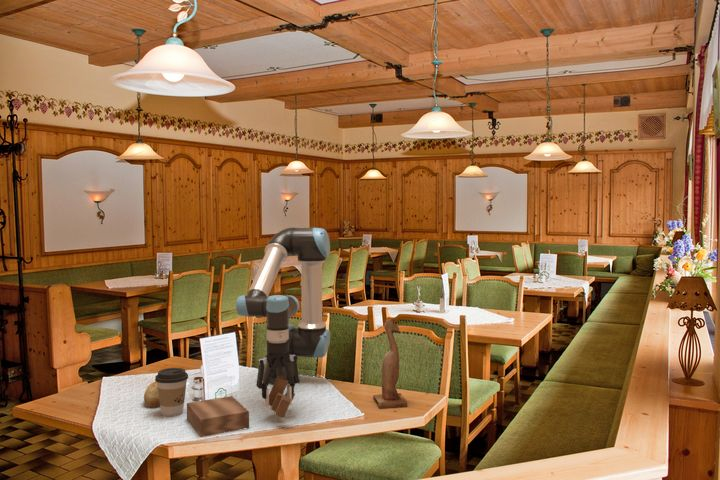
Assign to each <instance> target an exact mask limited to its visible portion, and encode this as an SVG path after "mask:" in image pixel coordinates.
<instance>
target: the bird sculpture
mask: <svg viewBox="0 0 720 480" xmlns="http://www.w3.org/2000/svg"><path fill="white" fill-rule="evenodd" d="M383 327H384V330H385V333H386V335H387V339H388V344H389V351H387V352H386V353H385V355H384V357H383V359H382V364H381V366H382V367H381V394H373V395H372V400H376V401H377V405H378V409H380V408H381V409H387V408H388V409H390V408H393V409H395V408H404V407H405V408H407V406H408V400H407V399H406V398H405V397H404V396H403V394H402V393H401V392H399V393H398V390H397V388H396V384H397V383H398V381H399V377H400V353H399V349H398V348H399V347H398V345H397V342H396V340H395V336H394V333H400V327H399V326H398V325H397V324H396V323H394V322H393V320H392V319H391V318H389V319H387V320H386V321H385V322H384V325H383Z"/></svg>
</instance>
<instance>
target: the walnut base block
mask: <svg viewBox="0 0 720 480" xmlns="http://www.w3.org/2000/svg"><path fill="white" fill-rule="evenodd" d="M186 420H187V421H188V423H189V424H190V425H191V426H192V428H193V429H194V430H195V432H197V434H198V435H199V436H200V438H202V437H203V438H204V437H207V436H213V435H218V434H223V433H224V432H225V433H229V431H230V432H235V431H239V430H240V429H241V430H245V429H244V428H246V429H250V411H249V410H248V409H247V408H246V407H245V406H244V405H243V404H241V402H239V400H237V398H235V397H234V396H232V395H231V396H224V397H217V398H212V399H211V398H210V399H204V400H197V401H191V402H186ZM241 430H240V431H241Z"/></svg>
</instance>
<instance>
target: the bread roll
mask: <svg viewBox="0 0 720 480" xmlns="http://www.w3.org/2000/svg"><path fill="white" fill-rule="evenodd" d="M143 399H144V404H145V405H146V406H147V407H149V408H157V407H160V401H159V394H158V387H157V382H156V381H155V380H154V381H153V382H151V383H150V384H149V385H148V386H147V387H146V389H145V391H144V395H143Z"/></svg>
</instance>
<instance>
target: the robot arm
mask: <svg viewBox="0 0 720 480" xmlns="http://www.w3.org/2000/svg"><path fill="white" fill-rule="evenodd" d="M330 241H331V240H330V237H329V233H328V232H327V230H326V229H325V228H323V227H322V228H321V227H287V228H283V229H282V230H280V231H279V232H277V233H276V234H274V235H273V236H272V237H271V238H270V239H269V241H268V242H267V244H266V245H265V248H264V256H263V258H262V260H261V263H260V265H259V267H258V270H257V272H256V274H255V276H254V278H253V280H252V283H251V284H250V287H249V290H248V292H247V294H244V295H239V296H238V297H237V299H236V302H235V311H236V313H237V315H238V316H240V317H246V318H247V317H248V318H251V317H253V318H266V339H265V340H266V355H265V357H264V358H258V359H257V363H258V370H257V371H258V372H257V377H256V378H257V379H256V384H255V385H256V388H258V389H259V390H261V398H262V399H263V400H264V407H265V408H266V409H270V405H269V394H270V389H269V388H268V387H269V385H274V382H275V380H276V378H277V376H283V377H285V378H287V379H288V384H287V386H286V392H287V397H288V398H290V399H291V401H290V404H289V406H290V405H291V406H292V405H293V403H292V402H293V400H292V394H295V386H296V384H299V383H300V375H299V370H298V363H297V362H298V358H299V357H301V358H302V357H303V358H313V359H315V358H318V359H319V358H324V357H325V356H326V355H327V353H328V350H329V347H330V342H331V330H330V329H327V324H326V323H325V322H324V321H323V264H324V263H326V260H327V259H326V258H327V257H329V256H330V254H331V242H330ZM290 256H291V257H292V256H295V257H297V262H298V263H299V264H300V266H301V267H300V268H301V270H300V273H301V274H300V275H301V285H300V286H301V321H300V323H299V324H298V325H297V328H296V326H295V324H293V323H289V319H290V318H292V317H294V316H295V315H296V314H297V313H298V312H299V310H300V303H299V299H297V297H295V296H294V295H290V294H289V295H279V294H277V295H276V294H275V295H270V293H271V291H272V287H273V286H274V284H275V281H276V279H277V276H278V273H279V272H280V269H281V267H282V263H283V262H284V261H286V260H287V258H288V257H290ZM269 295H270V296H269Z"/></svg>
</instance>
